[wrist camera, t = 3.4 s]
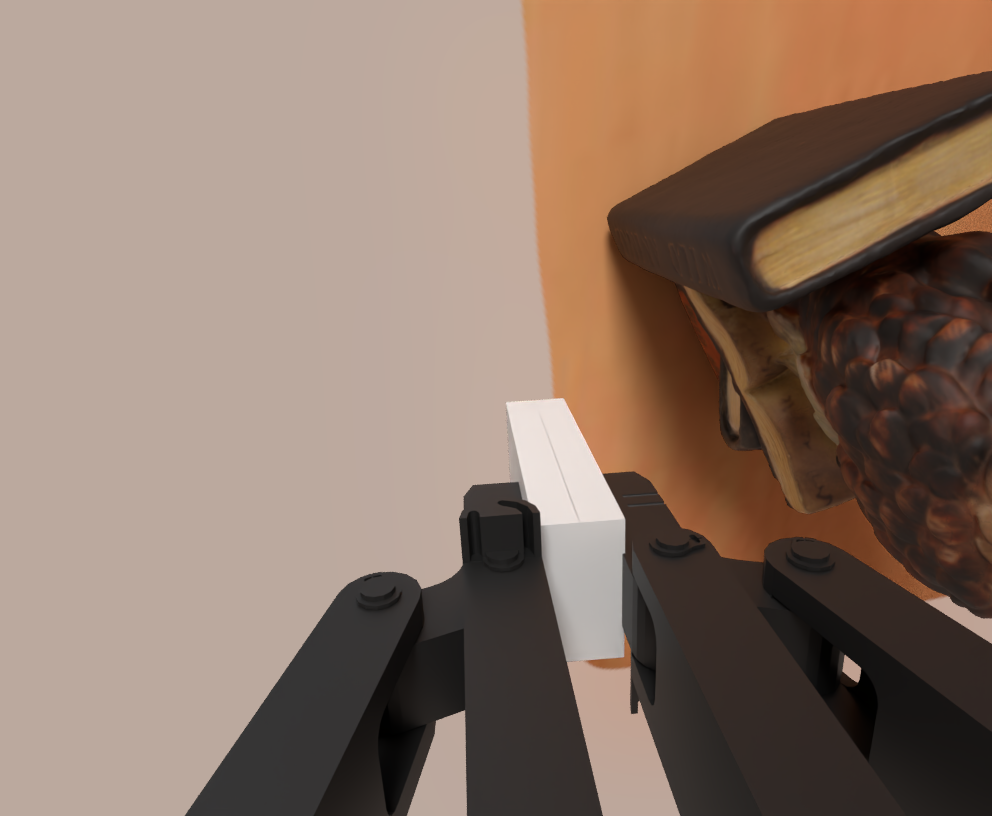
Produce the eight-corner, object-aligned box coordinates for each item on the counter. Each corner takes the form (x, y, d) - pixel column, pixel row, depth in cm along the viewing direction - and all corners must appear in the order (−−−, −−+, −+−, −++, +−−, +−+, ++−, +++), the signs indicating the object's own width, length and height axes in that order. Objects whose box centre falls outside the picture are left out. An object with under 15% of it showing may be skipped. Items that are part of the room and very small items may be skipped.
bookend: (596, 207, 30) (1056, 283, 7) (814, 97, 29) (2251, -262, 6) (702, 463, 35) (1195, 1034, 11) (894, 376, 34) (1874, 810, 10)
